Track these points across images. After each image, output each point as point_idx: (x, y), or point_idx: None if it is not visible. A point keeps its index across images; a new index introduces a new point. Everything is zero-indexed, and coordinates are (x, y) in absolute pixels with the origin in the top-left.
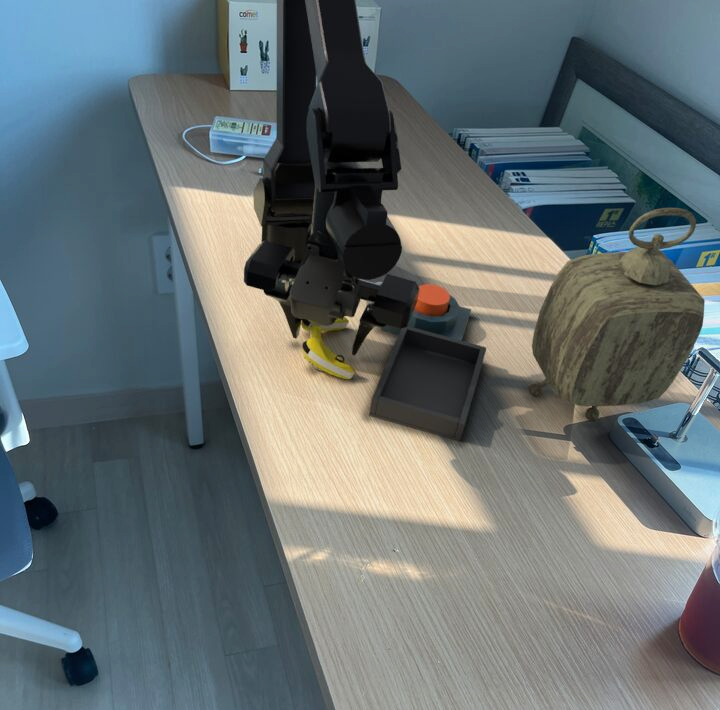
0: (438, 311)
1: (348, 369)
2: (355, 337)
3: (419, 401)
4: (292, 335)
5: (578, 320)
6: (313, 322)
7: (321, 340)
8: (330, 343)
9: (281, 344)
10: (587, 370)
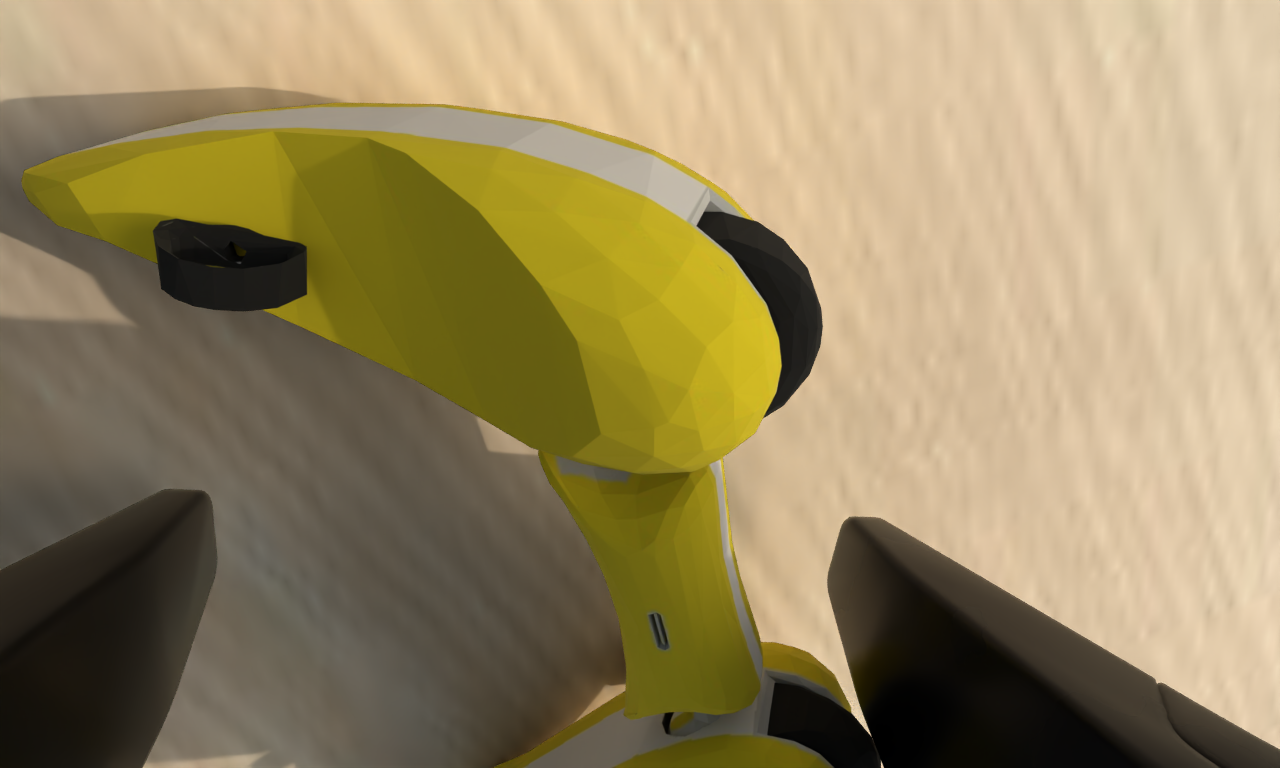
0: None
1: (87, 163)
2: (7, 661)
3: None
4: (900, 530)
5: None
6: (738, 740)
7: (581, 508)
8: (517, 607)
9: (938, 451)
10: None
